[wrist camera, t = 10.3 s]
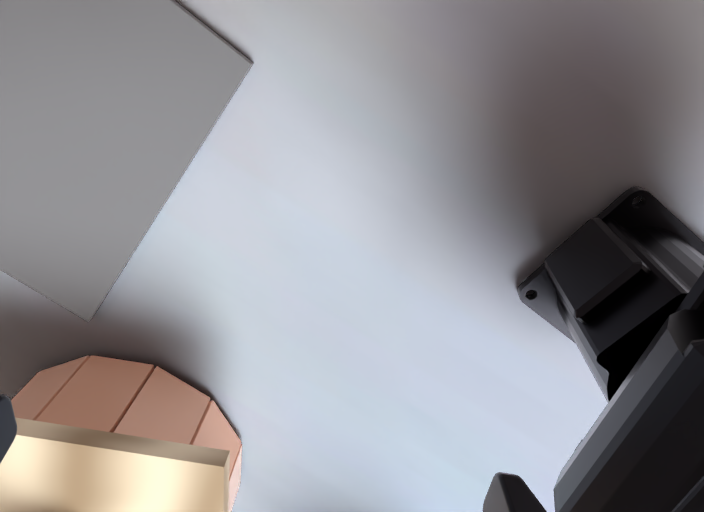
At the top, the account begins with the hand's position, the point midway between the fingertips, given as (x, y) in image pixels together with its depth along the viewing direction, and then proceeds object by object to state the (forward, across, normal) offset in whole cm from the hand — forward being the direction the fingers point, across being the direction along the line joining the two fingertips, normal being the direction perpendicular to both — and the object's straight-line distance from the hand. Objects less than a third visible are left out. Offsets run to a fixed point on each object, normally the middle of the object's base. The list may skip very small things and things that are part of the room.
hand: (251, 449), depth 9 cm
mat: (+13, +14, -2) cm, 19 cm away
